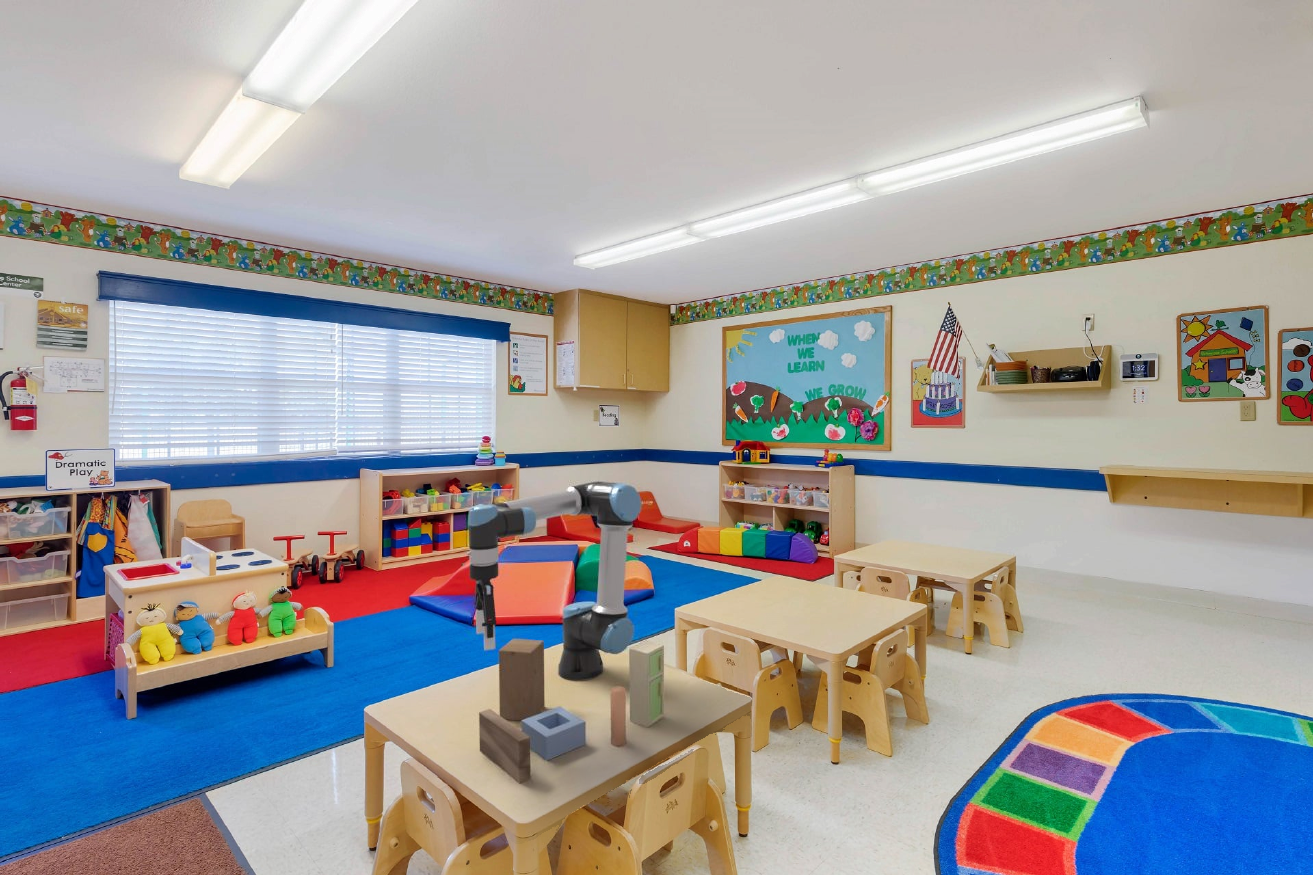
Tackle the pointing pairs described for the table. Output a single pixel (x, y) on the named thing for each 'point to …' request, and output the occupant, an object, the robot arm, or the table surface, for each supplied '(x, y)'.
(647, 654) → the toy refrigerator
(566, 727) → the socket block
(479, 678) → the table surface
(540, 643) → the wooden block
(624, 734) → the dowel
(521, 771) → the wall
